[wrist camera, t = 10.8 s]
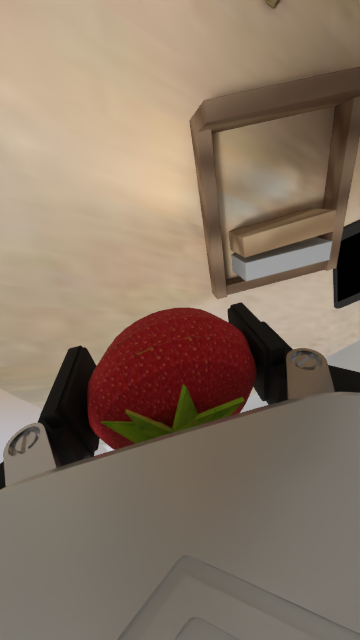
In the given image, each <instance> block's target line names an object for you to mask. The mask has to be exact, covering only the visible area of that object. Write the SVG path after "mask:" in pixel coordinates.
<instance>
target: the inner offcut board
mask: <svg viewBox="0 0 360 640" xmlns="http://www.w3.org/2000/svg"><path fill="white" fill-rule="evenodd" d="M335 215H336V210H328V209H314V208H308V209H305V210H301V211H298V212H295V213H291V214H288V215H285V216H281V217H278V218H274V219H271V220H268V221H264V222H261V223H257V224H254V225H251V226H247V227H244V228H240V229H237V230H234V231H230V232H229V239H230V247H231V250H232V251H234V252H236V253H238V254H239V255H241V256H243V257H249V256H252V255H255V254H259V253H262V252H266V251H269V250H272V249H276V248H279V247H282V246H286V245H289V244H292V243H296V242H299V241H302V240H306V239H309V238H312V237H316V236H319V235H322V234H326V233H329V232H332V231H334V224H335Z"/></svg>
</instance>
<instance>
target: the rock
mask: <svg viewBox="0 0 360 640" xmlns="http://www.w3.org/2000/svg"><path fill="white" fill-rule="evenodd" d="M279 1H280V0H266V2H267V4H269V5H270V6H271V7H272V8H275V6H276V5H277V3H278V2H279Z"/></svg>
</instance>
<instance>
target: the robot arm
mask: <svg viewBox="0 0 360 640" xmlns="http://www.w3.org/2000/svg"><path fill="white" fill-rule="evenodd" d="M228 320H229V323H230V324H232V325H233V326H235V327H236V328H237V329H239V330H240V331H241V332H242V333H243V335H244V336H245V338H246V339H247V341H248V344H249V346H250V349H251V352H252V355H253V358H254V361H255V364H256V368H257V369H256V379H255V382H254V385H253V387H254V388H255V390H256V392H257V393H258V395H259V396H260V398H261V399H262V401H267V403H268V405H267V406H264V407H260V408H256V409H253V410H249V411H246V412H242V413H239V414H235V415H232V416H229V417H225V418H222V419H218V420H215V421H211V422H208V423H204V424H201V425H197V426H194V427H191V428H187V429H184V430H180V431H177V432H174V433H170V434H167V435H163V436H160V437H157V438H153V439H150V440H147V441H143V442H140V443H136V444H133V445H130V446H126V447H123V448H120V449H116V450H113V451H110V452H107V453H103V454H100V455H97V456H94V452H95V451H96V450H97V449H98V445H99V437H98V436H97V435H96V434H95V433H94V432H93V430H92V428H91V427H90V425H89V419H88V409H87V390H88V383H89V380H90V378H91V376H92V374H93V371H94V369H95V368H96V364H95V363H94V361H93V359H92V357H91V355H90V353H89V352H88V350H87V348H85V347H84V348H83V347H82V346H77V347H74V348H70V349H69V350H68V352H67V354H66V356H65V359H64V361H63V363H62V366H61V368H60V370H59V373H58V375H57V377H56V380H55V382H54V384H53V387H52V389H51V391H50V394H49V396H48V398H47V401H46V403H45V405H44V408H43V410H42V412H41V415H40V418H39V420H38V423H33V424H30V425H27V426H25V427H24V428H22V429H21V430H19V431H18V432H17V433H16V434H15V435H14V436H13V437H12V438H11V439H10V440H9V441H8V443H7V444H6V447H5V449H4V454H3V457H4V461H3V462H2V463H1V464H0V640H360V373H359V372H355V371H351V370H347V369H343V368H338V367H334V366H330V365H328V364H327V361H326V359H325V357H324V356H323V355H322V354H320V353H319V352H317V351H315V350H312V349H306V348H298V349H292V348H291V347H290V346H289V345H288V344H287V343H286V342H285V341H284V340H283V339H282V338H281V337H280V336H279V335H278V334H277V333H276V332H275V331H274V330H273V329H271V328H270V327H269V326H268V325H267V324H266V323H265V322H263V321H262V322H260V321H259V320H258V319H257V318H256V317H255V316H254V315H253V314H252V313H251V312H250V310H249V309H248V308H247V307H246V306H245V305H244V304H243V303H237V304H234V305H231V307H230V308H229V309H228Z"/></svg>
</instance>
